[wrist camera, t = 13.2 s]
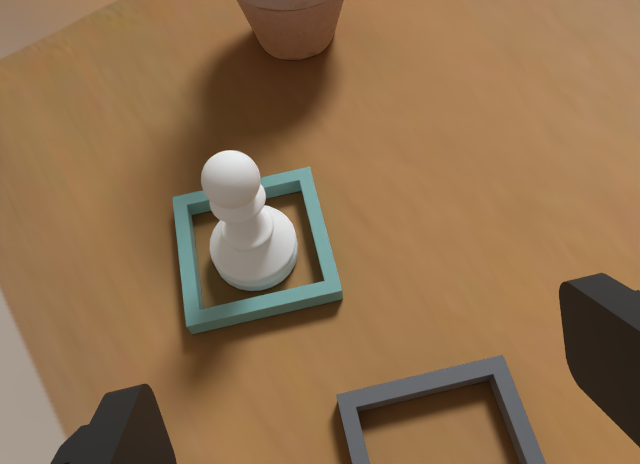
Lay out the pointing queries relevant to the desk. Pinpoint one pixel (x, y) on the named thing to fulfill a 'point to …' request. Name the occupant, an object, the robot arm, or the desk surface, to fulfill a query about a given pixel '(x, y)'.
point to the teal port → (262, 304)
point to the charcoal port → (440, 382)
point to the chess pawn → (246, 225)
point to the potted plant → (292, 25)
